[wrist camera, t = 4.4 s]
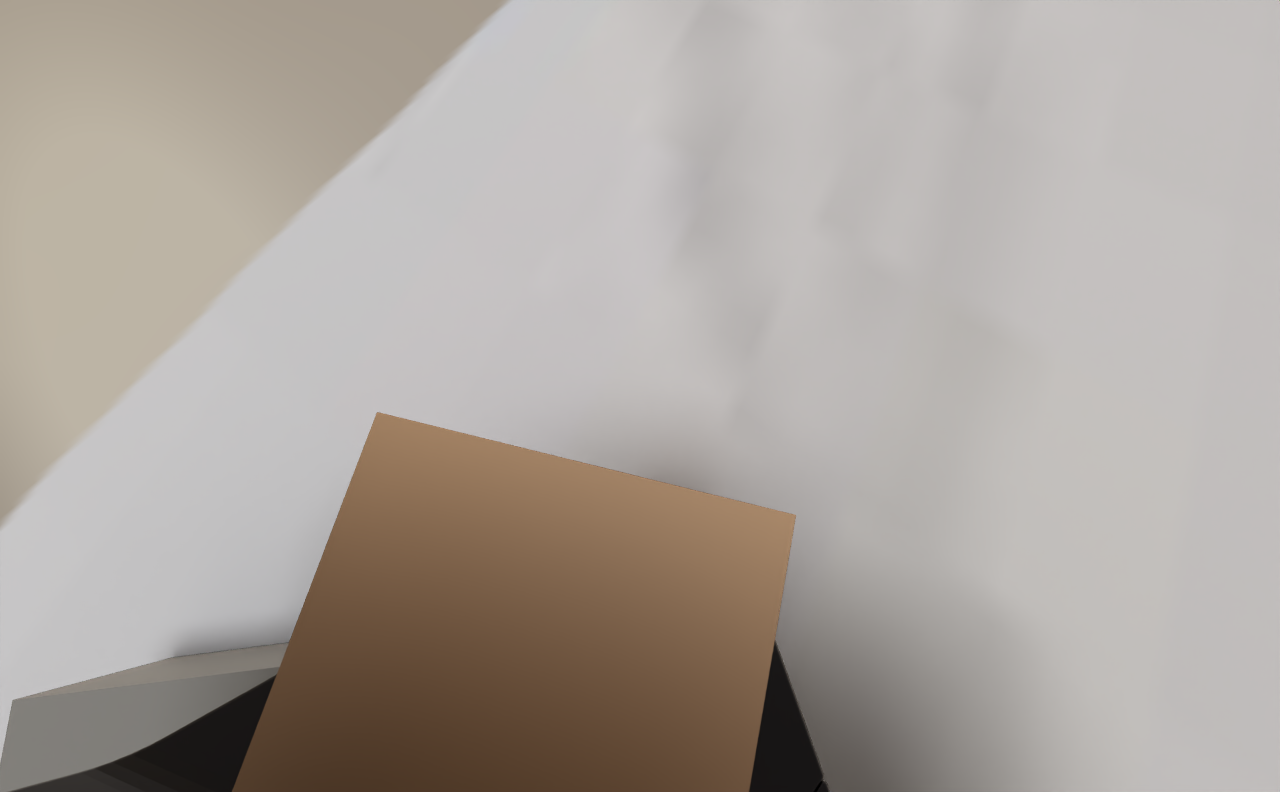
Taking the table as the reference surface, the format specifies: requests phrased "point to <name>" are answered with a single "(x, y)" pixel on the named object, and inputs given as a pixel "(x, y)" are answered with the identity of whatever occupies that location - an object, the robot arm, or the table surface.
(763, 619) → the brown wooden block
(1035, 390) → the table surface
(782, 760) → the robot arm
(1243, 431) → the table surface
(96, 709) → the grey block with slot
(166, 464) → the table surface
